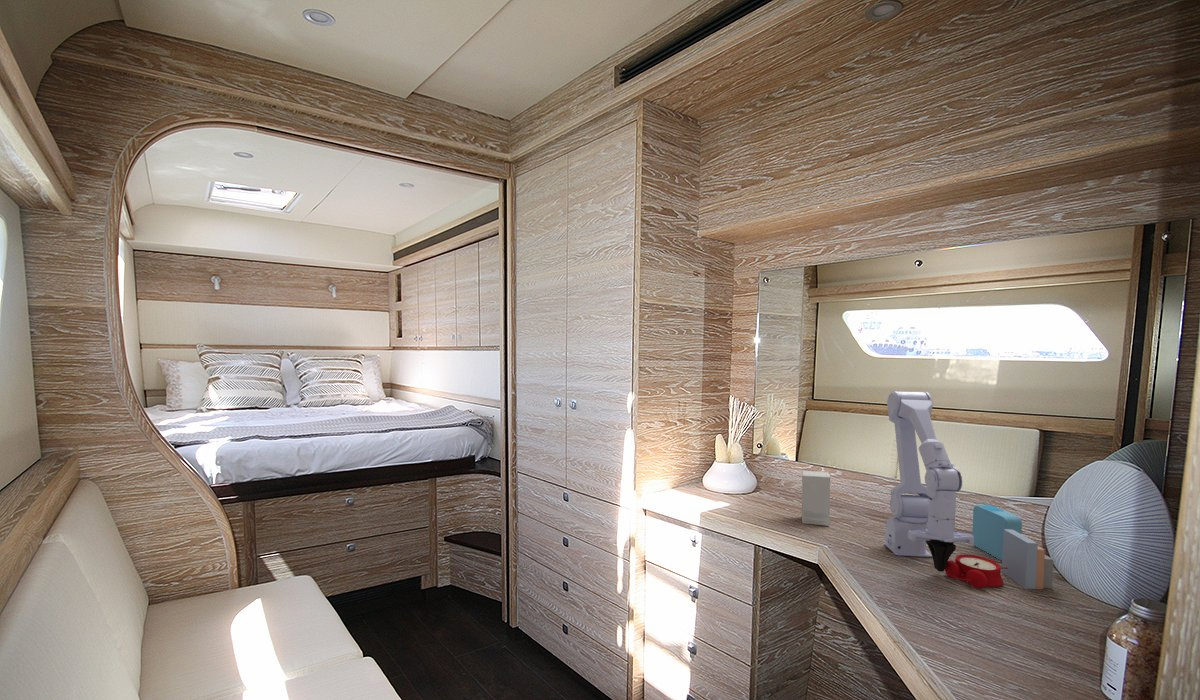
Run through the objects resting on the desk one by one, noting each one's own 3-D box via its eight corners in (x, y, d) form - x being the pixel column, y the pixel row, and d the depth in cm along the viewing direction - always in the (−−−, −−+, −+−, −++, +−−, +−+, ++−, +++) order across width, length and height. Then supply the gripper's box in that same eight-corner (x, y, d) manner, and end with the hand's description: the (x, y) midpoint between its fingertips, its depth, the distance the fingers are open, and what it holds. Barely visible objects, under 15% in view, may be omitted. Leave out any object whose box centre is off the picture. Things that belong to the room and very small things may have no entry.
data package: (1020, 562, 145) (1022, 518, 144) (1004, 562, 144) (1006, 518, 144) (986, 544, 157) (988, 503, 156) (971, 544, 156) (973, 503, 156)
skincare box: (828, 520, 175) (830, 472, 174) (829, 527, 168) (831, 477, 168) (800, 516, 177) (802, 469, 177) (800, 523, 171) (802, 474, 170)
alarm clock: (1015, 567, 133) (981, 564, 126) (1011, 593, 133) (976, 591, 126) (970, 551, 142) (936, 548, 136) (966, 575, 142) (931, 573, 135)
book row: (1025, 588, 130) (1027, 542, 129) (1001, 571, 139) (1003, 529, 138) (1055, 590, 129) (1057, 544, 129) (1029, 573, 138) (1031, 530, 138)
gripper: (918, 519, 132) (915, 575, 133) (982, 523, 131) (979, 579, 131) (905, 510, 139) (903, 562, 140) (965, 513, 138) (963, 566, 138)
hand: (939, 569), depth 136 cm, fingers closed
